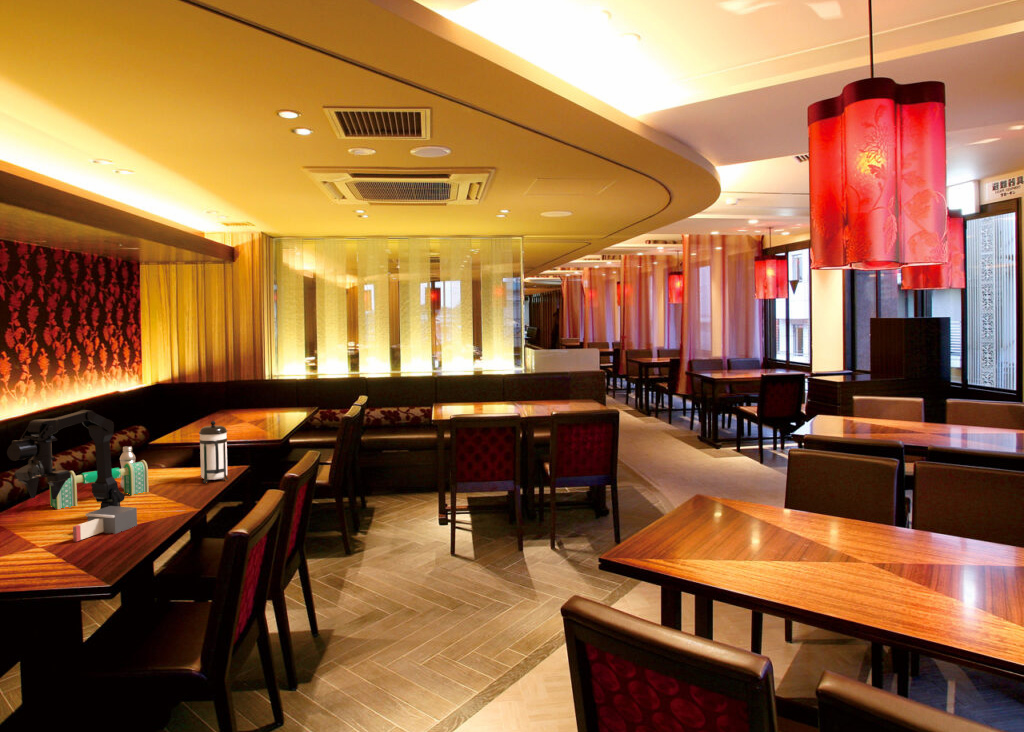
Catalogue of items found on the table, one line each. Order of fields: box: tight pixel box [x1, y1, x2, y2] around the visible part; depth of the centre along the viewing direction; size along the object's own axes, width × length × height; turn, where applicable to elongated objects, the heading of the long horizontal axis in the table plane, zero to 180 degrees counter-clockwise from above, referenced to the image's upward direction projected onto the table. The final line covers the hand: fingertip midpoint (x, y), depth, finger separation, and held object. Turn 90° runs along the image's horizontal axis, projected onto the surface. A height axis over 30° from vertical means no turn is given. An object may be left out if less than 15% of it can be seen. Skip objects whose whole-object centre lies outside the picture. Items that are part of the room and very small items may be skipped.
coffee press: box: [198, 420, 229, 484], centre depth 314 cm, size 17×16×30 cm
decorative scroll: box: [49, 459, 150, 510], centre depth 279 cm, size 36×8×15 cm, turn 143°
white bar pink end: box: [72, 517, 104, 542], centre depth 231 cm, size 19×1×5 cm, turn 167°
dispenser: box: [84, 506, 138, 535], centre depth 237 cm, size 11×12×7 cm
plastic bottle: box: [119, 445, 136, 490], centre depth 298 cm, size 6×7×20 cm
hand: (43, 498), depth 225 cm, fingers open, 9 cm apart
